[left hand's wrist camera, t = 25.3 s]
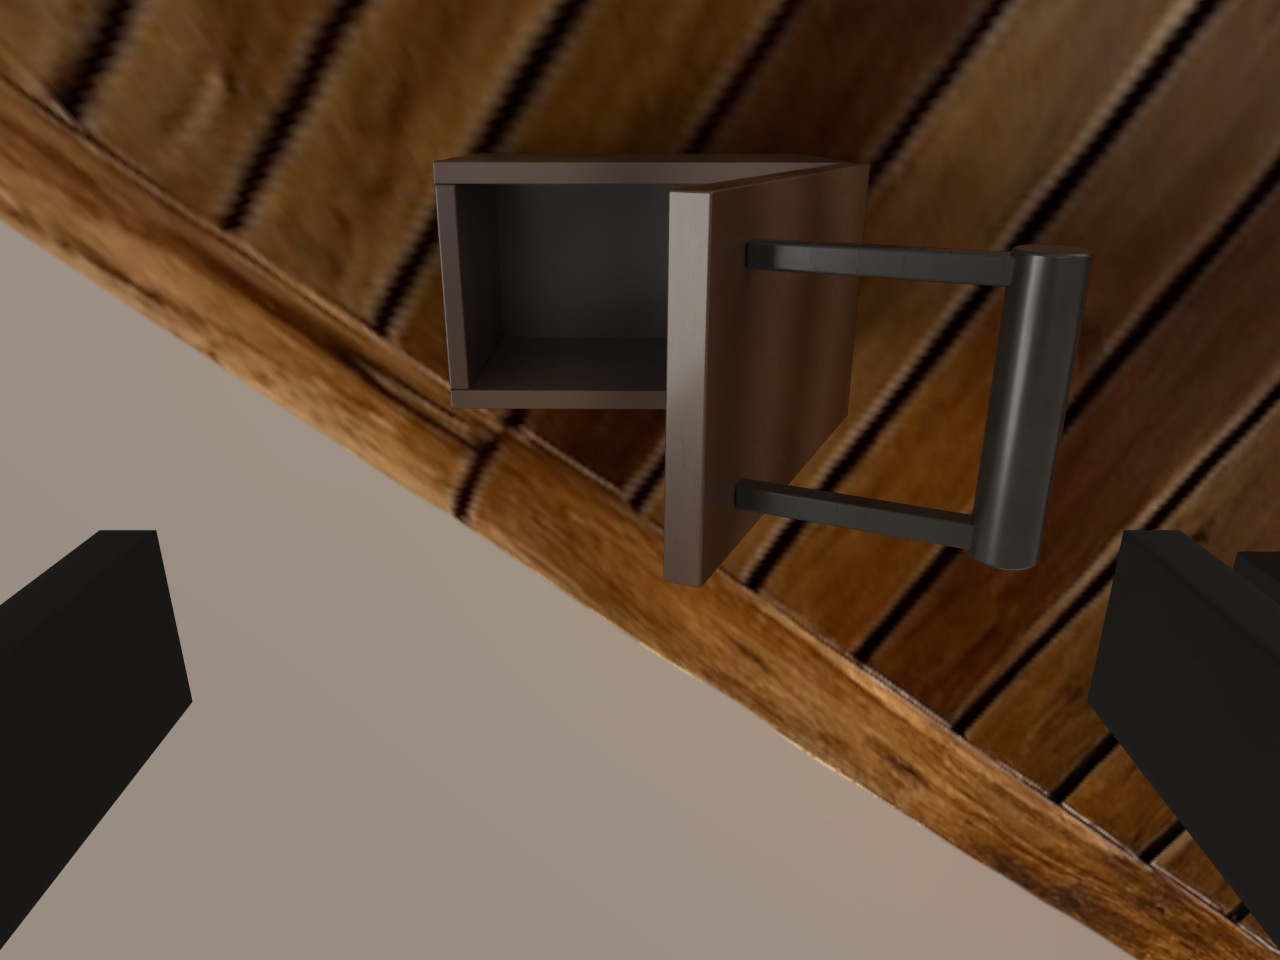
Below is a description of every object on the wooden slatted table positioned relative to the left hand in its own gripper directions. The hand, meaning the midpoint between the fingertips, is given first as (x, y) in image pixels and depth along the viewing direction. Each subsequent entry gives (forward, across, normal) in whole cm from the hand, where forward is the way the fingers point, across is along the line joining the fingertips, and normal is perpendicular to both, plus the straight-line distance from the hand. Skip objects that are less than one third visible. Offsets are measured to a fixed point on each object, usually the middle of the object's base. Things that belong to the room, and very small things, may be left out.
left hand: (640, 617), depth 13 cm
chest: (+37, 0, 0) cm, 37 cm away
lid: (+18, +4, 0) cm, 18 cm away
